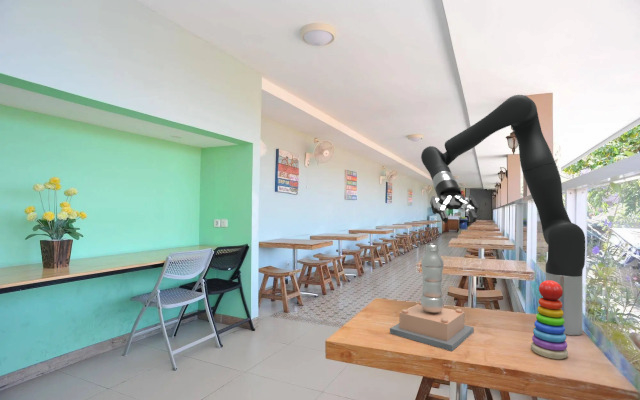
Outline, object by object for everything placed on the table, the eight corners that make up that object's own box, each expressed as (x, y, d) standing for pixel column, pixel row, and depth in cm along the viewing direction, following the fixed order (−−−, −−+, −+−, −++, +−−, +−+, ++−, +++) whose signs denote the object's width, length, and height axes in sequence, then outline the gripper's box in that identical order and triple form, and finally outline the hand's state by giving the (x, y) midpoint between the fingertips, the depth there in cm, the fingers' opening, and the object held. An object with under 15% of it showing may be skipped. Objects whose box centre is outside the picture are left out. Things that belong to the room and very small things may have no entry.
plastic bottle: (416, 311, 100) (416, 244, 101) (428, 307, 105) (428, 242, 105) (436, 317, 96) (436, 246, 96) (448, 312, 100) (447, 244, 101)
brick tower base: (416, 318, 113) (416, 297, 113) (473, 332, 101) (473, 309, 101) (389, 333, 99) (390, 310, 99) (452, 351, 87) (452, 324, 87)
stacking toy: (527, 352, 87) (527, 279, 87) (535, 344, 93) (535, 275, 93) (564, 363, 81) (564, 285, 82) (570, 353, 87) (570, 280, 87)
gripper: (427, 179, 115) (439, 213, 103) (469, 178, 115) (487, 211, 103) (423, 195, 120) (435, 229, 108) (464, 194, 120) (479, 228, 108)
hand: (460, 220), depth 105 cm, fingers open, 8 cm apart
